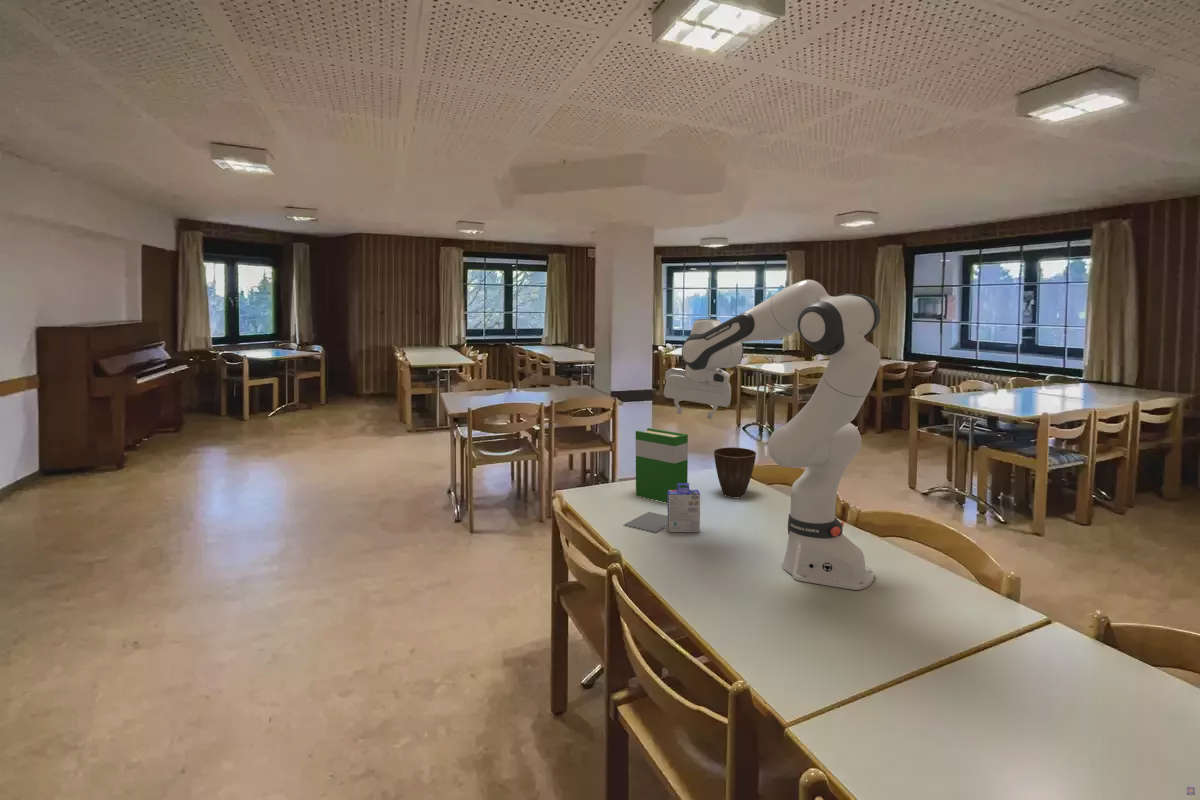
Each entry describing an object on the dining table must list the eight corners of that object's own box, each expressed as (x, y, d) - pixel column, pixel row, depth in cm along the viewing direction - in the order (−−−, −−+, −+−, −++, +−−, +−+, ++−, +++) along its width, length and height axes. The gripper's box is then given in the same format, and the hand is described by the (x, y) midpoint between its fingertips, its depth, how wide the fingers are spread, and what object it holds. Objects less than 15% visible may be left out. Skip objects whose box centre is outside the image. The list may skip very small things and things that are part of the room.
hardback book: (635, 495, 234) (635, 431, 230) (648, 491, 239) (648, 428, 236) (674, 505, 222) (674, 437, 218) (687, 500, 227) (687, 434, 224)
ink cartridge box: (698, 526, 201) (698, 481, 199) (700, 532, 196) (701, 486, 193) (666, 526, 201) (666, 482, 199) (668, 533, 196) (668, 487, 194)
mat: (680, 519, 208) (680, 518, 207) (656, 533, 196) (656, 532, 196) (648, 512, 215) (648, 511, 215) (623, 525, 203) (623, 524, 203)
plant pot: (760, 492, 236) (761, 450, 233) (746, 503, 223) (747, 458, 221) (722, 486, 243) (722, 445, 241) (706, 497, 231) (707, 453, 229)
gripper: (664, 368, 192) (659, 412, 195) (733, 378, 187) (726, 423, 190) (667, 365, 198) (662, 408, 201) (734, 374, 193) (728, 418, 196)
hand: (694, 415), depth 196 cm, fingers open, 8 cm apart
